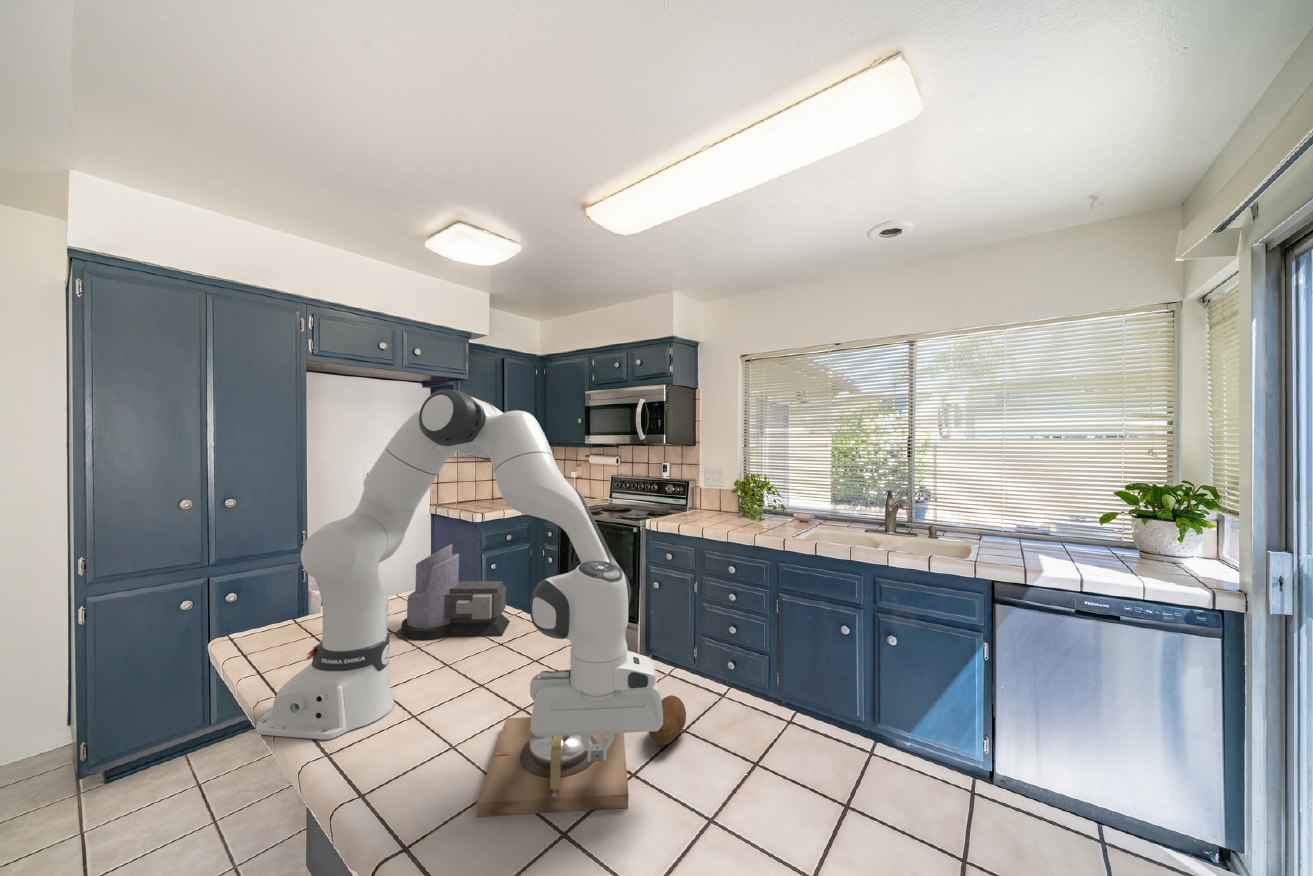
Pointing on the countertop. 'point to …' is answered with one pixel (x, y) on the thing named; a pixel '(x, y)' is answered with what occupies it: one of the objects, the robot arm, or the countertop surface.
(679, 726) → the potato
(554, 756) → the grey round gold-handled piece
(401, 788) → the countertop surface
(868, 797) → the countertop surface
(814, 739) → the countertop surface
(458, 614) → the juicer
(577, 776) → the panel
